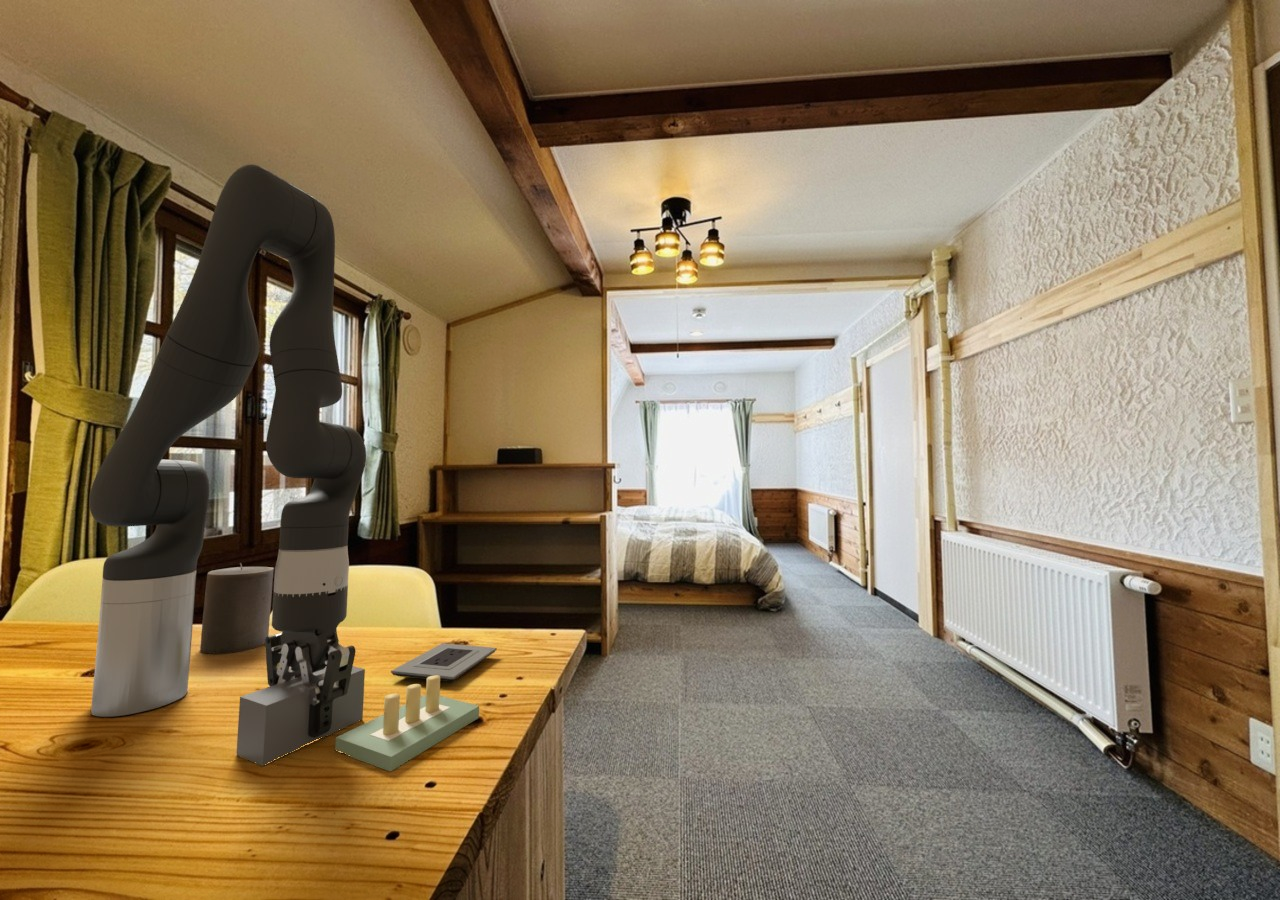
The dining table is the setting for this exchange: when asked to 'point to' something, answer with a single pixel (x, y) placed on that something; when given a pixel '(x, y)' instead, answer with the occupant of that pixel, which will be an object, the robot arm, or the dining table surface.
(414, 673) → the electrical outlet
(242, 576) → the pillar candle
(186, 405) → the robot arm
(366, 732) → the header board
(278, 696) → the block
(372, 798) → the dining table surface
